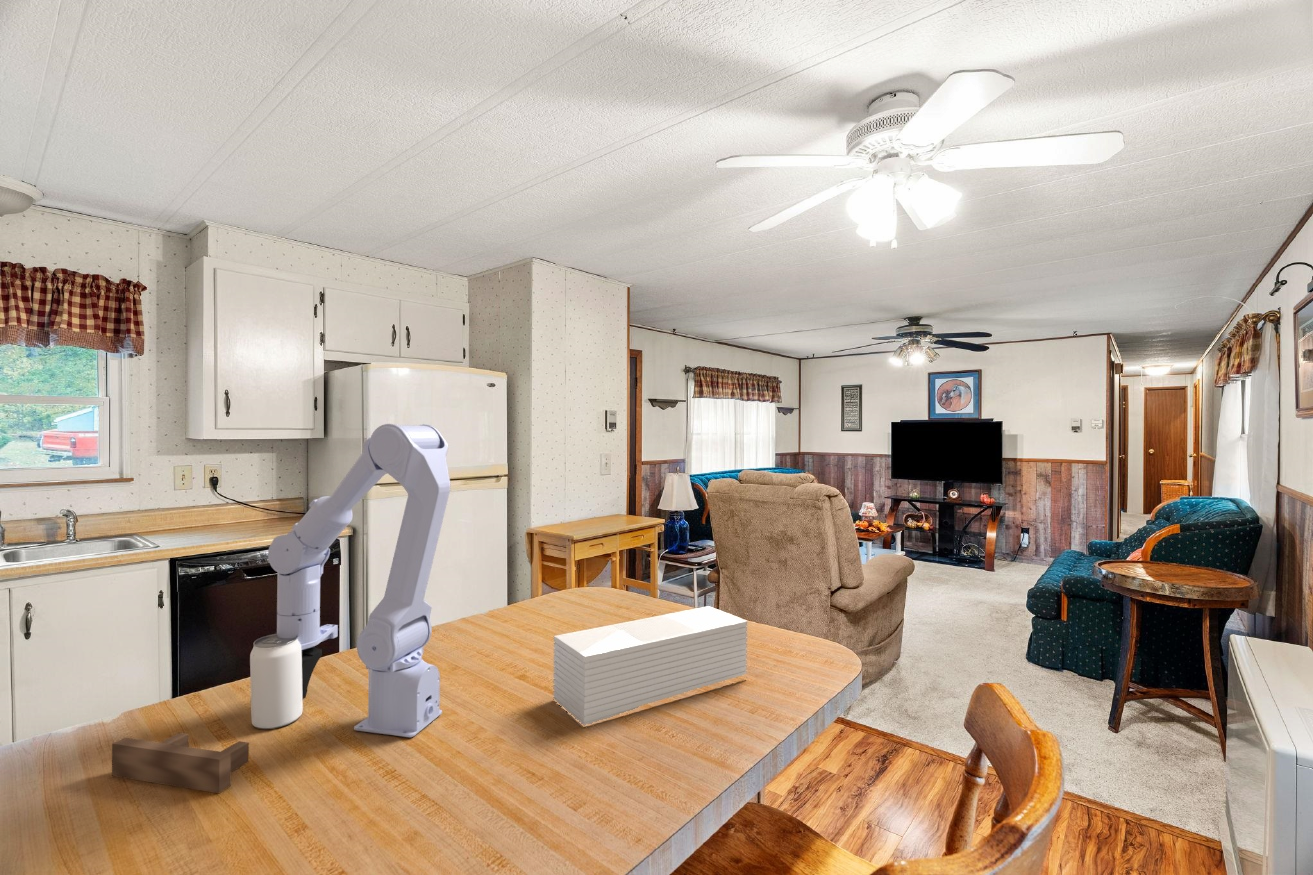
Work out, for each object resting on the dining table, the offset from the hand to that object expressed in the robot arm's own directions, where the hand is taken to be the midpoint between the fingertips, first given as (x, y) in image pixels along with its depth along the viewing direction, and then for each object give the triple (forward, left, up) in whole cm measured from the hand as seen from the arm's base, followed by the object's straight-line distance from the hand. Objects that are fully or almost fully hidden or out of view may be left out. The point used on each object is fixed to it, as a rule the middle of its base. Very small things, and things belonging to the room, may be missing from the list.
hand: (297, 698), depth 95 cm
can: (0, +4, -2) cm, 4 cm away
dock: (0, +18, -2) cm, 18 cm away
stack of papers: (-52, -20, -2) cm, 56 cm away
